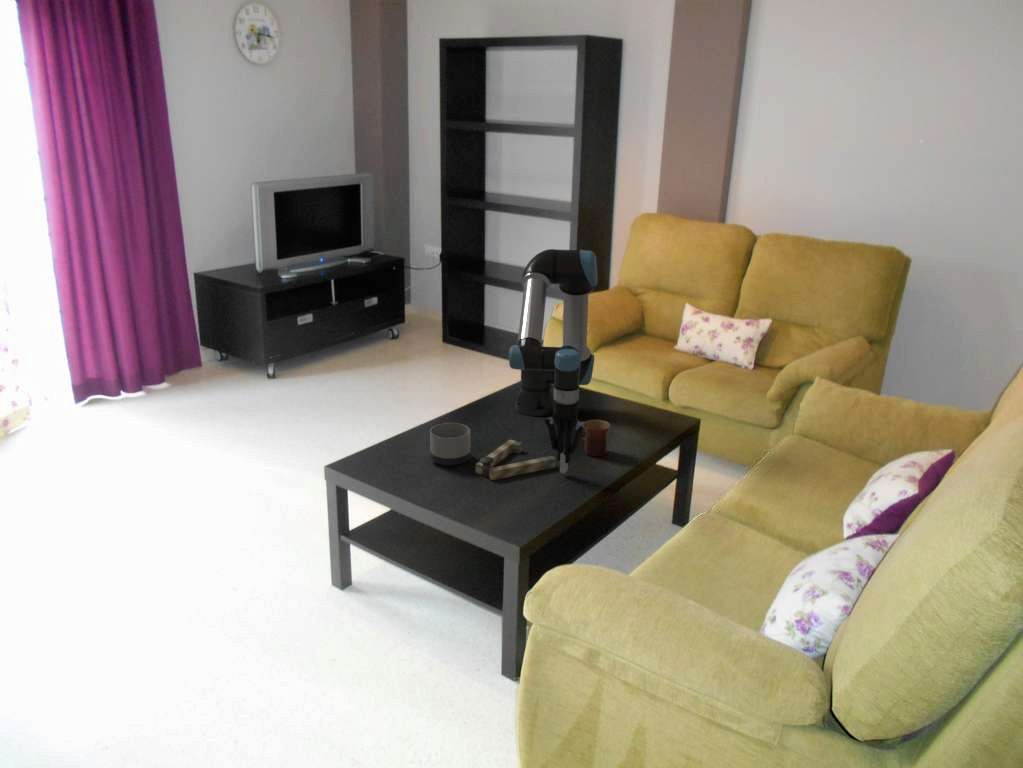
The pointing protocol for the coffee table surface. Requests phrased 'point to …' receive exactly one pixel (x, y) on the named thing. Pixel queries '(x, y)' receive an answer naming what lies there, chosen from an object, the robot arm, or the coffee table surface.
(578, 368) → the robot arm
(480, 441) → the coffee table surface
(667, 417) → the coffee table surface
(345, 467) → the coffee table surface
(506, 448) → the tongs fixed
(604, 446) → the mug
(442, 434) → the planter
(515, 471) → the tongs jaw
